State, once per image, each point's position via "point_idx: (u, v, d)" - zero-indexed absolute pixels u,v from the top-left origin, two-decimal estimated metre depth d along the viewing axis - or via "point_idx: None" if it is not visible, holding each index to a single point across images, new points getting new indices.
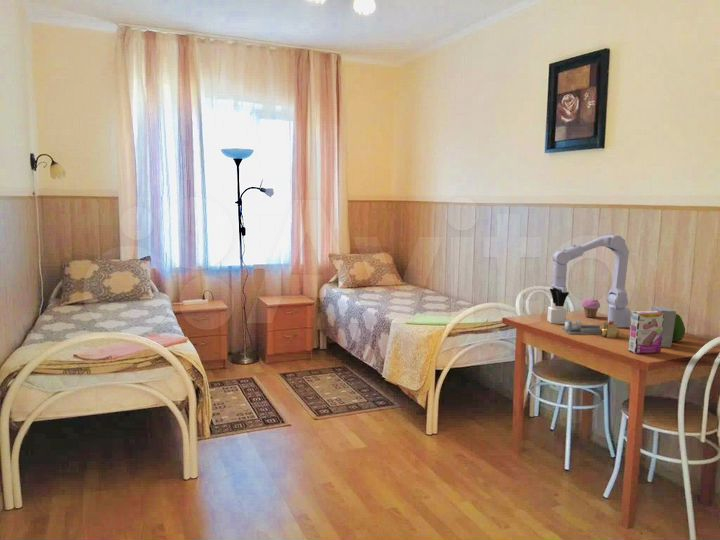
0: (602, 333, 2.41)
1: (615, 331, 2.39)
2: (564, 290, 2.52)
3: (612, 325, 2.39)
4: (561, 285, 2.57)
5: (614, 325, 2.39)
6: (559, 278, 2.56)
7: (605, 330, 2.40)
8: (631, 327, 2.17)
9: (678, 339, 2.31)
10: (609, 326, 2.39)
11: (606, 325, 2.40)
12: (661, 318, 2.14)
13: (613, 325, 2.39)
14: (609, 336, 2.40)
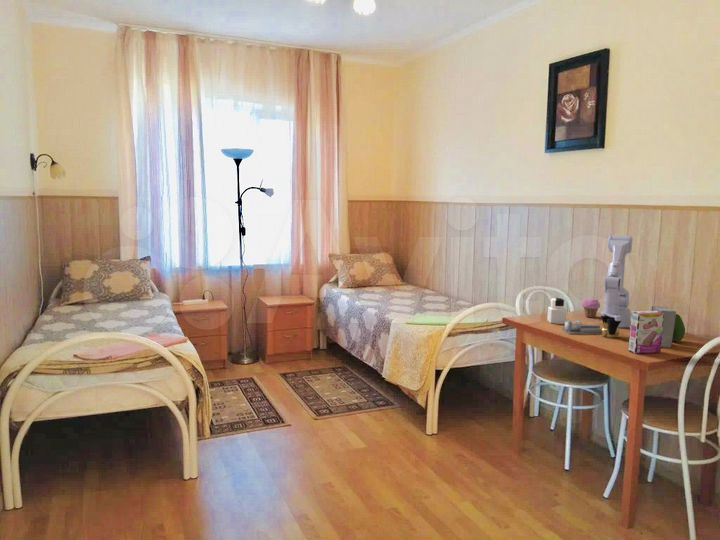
0: (602, 333, 2.41)
1: None
2: (618, 319, 2.33)
3: None
4: (614, 313, 2.37)
5: None
6: (611, 305, 2.37)
7: (605, 330, 2.40)
8: (631, 327, 2.17)
9: (678, 339, 2.31)
10: None
11: (606, 325, 2.40)
12: (661, 318, 2.14)
13: None
14: (609, 336, 2.40)
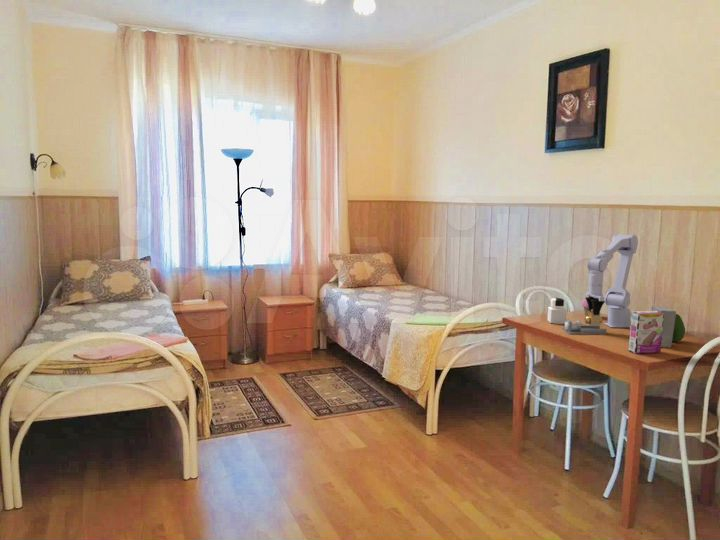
0: (586, 321, 2.49)
1: (598, 319, 2.47)
2: (601, 299, 2.41)
3: None
4: (597, 293, 2.45)
5: None
6: (595, 286, 2.45)
7: (589, 318, 2.48)
8: (631, 327, 2.17)
9: (678, 339, 2.31)
10: (593, 314, 2.47)
11: (590, 313, 2.48)
12: (661, 318, 2.14)
13: None
14: (593, 324, 2.48)
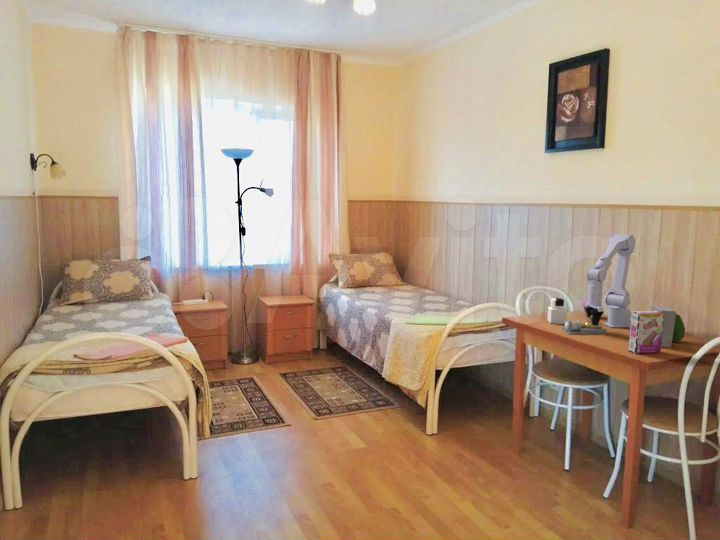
0: (585, 327, 2.49)
1: (598, 325, 2.48)
2: (600, 309, 2.41)
3: None
4: (597, 304, 2.46)
5: None
6: (595, 296, 2.45)
7: (588, 324, 2.48)
8: (631, 327, 2.17)
9: (678, 339, 2.31)
10: None
11: (589, 319, 2.49)
12: (661, 318, 2.14)
13: None
14: None
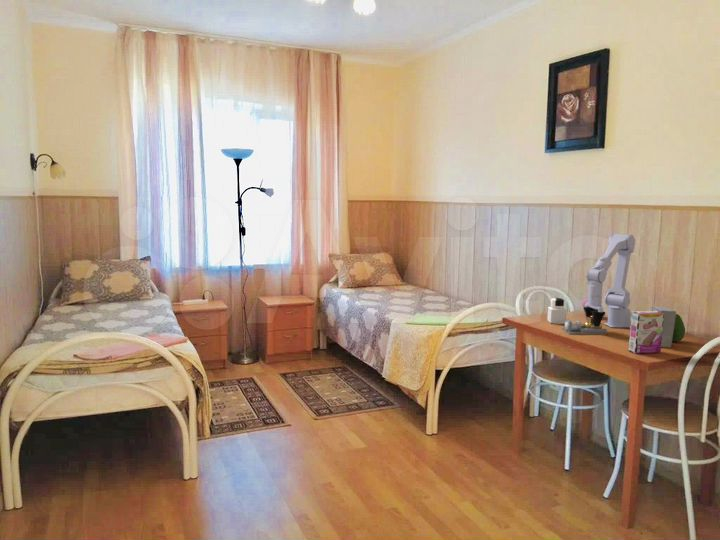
0: (585, 327, 2.49)
1: None
2: (600, 310, 2.41)
3: None
4: (597, 304, 2.46)
5: None
6: (595, 297, 2.45)
7: (588, 324, 2.48)
8: (631, 327, 2.17)
9: (678, 339, 2.31)
10: (592, 320, 2.47)
11: (589, 319, 2.49)
12: (661, 318, 2.14)
13: None
14: None
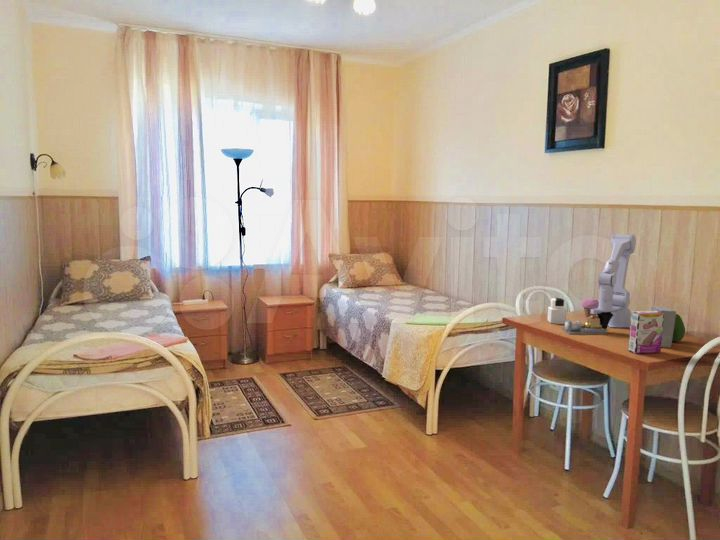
0: (585, 327, 2.49)
1: (598, 325, 2.48)
2: (591, 311, 2.47)
3: (595, 319, 2.47)
4: (600, 307, 2.48)
5: (597, 319, 2.47)
6: (599, 300, 2.48)
7: (588, 324, 2.48)
8: (631, 327, 2.17)
9: (678, 339, 2.31)
10: (592, 320, 2.47)
11: (589, 319, 2.49)
12: (661, 318, 2.14)
13: (596, 319, 2.47)
14: None
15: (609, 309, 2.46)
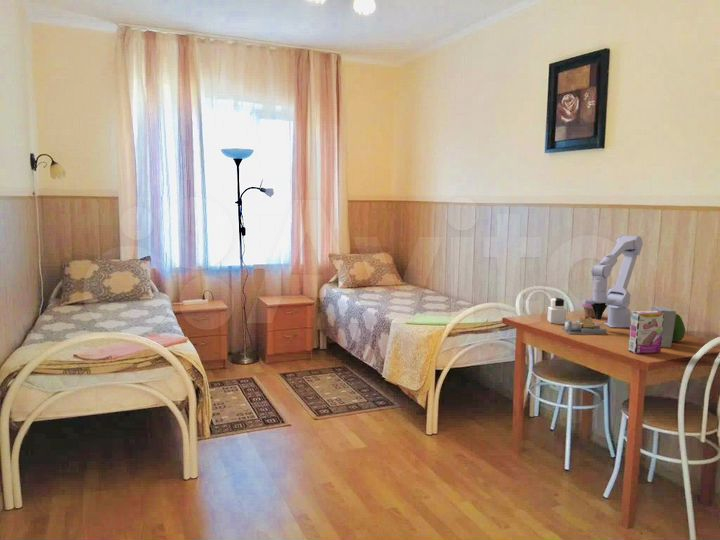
0: None
1: (591, 325, 2.48)
2: (584, 302, 2.52)
3: (588, 319, 2.48)
4: (593, 298, 2.52)
5: (590, 319, 2.48)
6: (593, 291, 2.52)
7: (581, 324, 2.49)
8: (631, 327, 2.17)
9: (678, 339, 2.31)
10: (585, 320, 2.48)
11: (582, 319, 2.49)
12: (661, 318, 2.14)
13: (589, 319, 2.48)
14: None
15: (602, 300, 2.49)
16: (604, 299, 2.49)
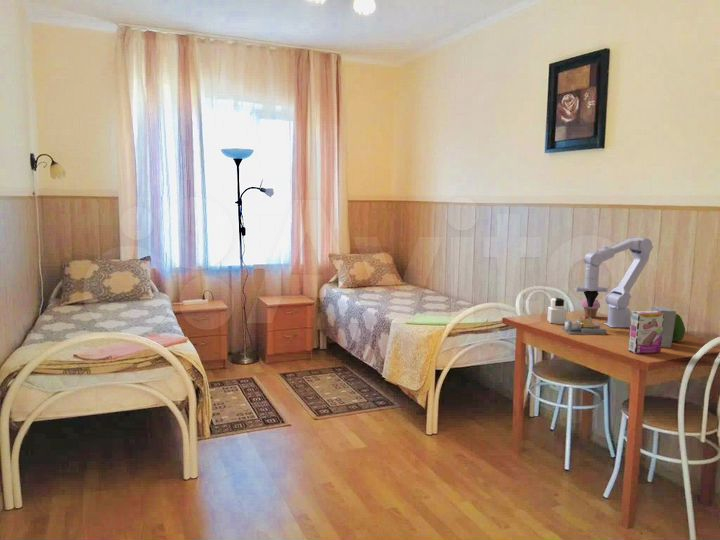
0: None
1: (591, 325, 2.48)
2: (575, 289, 2.57)
3: (588, 319, 2.48)
4: (585, 286, 2.56)
5: (590, 319, 2.48)
6: (585, 279, 2.57)
7: (581, 324, 2.49)
8: (631, 327, 2.17)
9: (678, 339, 2.31)
10: (585, 320, 2.48)
11: (582, 319, 2.49)
12: (661, 318, 2.14)
13: (589, 319, 2.48)
14: None
15: (593, 288, 2.54)
16: (595, 287, 2.54)
